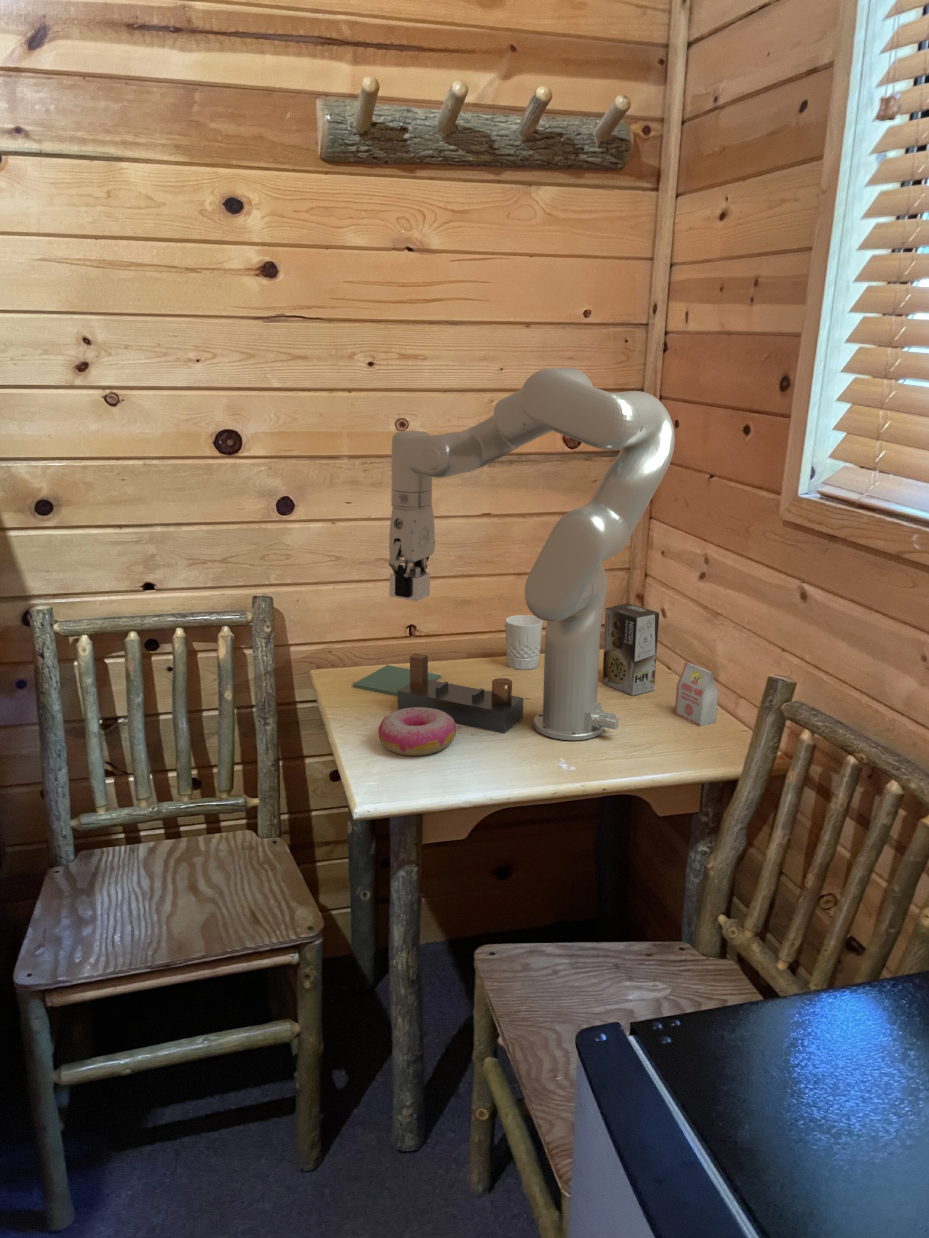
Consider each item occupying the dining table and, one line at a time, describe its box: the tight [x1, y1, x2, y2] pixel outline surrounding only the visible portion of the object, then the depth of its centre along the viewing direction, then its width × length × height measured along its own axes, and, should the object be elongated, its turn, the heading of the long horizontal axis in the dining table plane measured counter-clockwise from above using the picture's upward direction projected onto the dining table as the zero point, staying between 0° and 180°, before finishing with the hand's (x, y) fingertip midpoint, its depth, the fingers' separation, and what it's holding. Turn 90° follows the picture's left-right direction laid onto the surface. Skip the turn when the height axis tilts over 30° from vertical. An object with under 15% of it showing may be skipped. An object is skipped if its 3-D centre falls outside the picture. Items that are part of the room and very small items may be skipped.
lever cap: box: [388, 563, 431, 602], centre depth 177 cm, size 6×5×6 cm
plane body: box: [397, 653, 524, 734], centre depth 170 cm, size 22×8×10 cm, turn 63°
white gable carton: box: [674, 661, 719, 727], centre depth 169 cm, size 4×7×10 cm, turn 30°
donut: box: [377, 707, 457, 757], centre depth 158 cm, size 14×13×5 cm
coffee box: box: [601, 602, 660, 697], centre depth 183 cm, size 9×6×16 cm
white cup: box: [504, 614, 544, 671], centre depth 197 cm, size 8×8×10 cm
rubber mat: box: [352, 664, 442, 697], centre depth 187 cm, size 13×13×1 cm
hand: (410, 591), depth 177 cm, fingers closed on lever cap, 5 cm apart
